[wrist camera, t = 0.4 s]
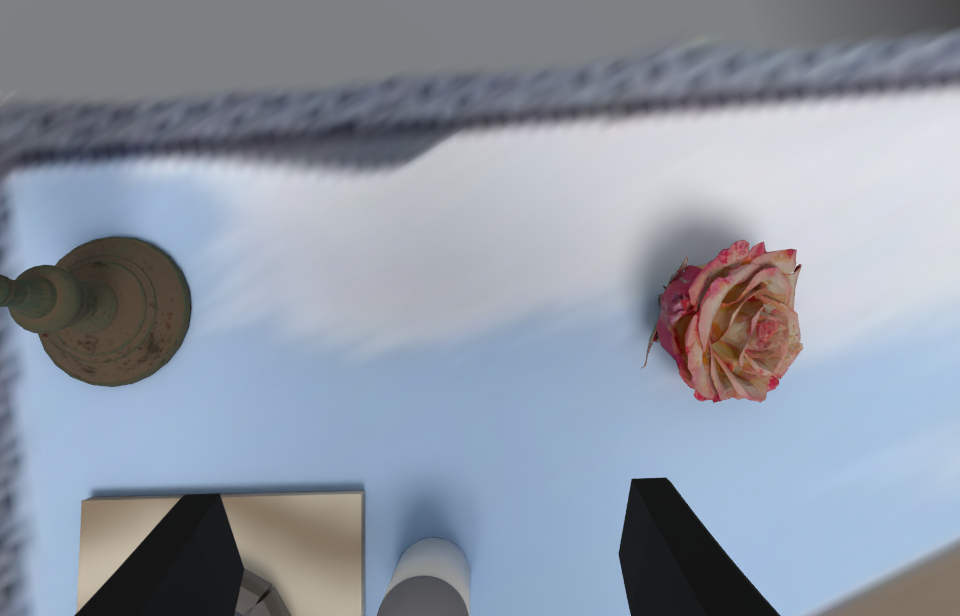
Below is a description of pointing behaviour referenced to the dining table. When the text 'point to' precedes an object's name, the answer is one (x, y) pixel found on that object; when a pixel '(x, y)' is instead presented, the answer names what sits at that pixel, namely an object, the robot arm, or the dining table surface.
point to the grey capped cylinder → (429, 581)
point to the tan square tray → (249, 548)
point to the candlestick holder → (104, 310)
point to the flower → (732, 322)
